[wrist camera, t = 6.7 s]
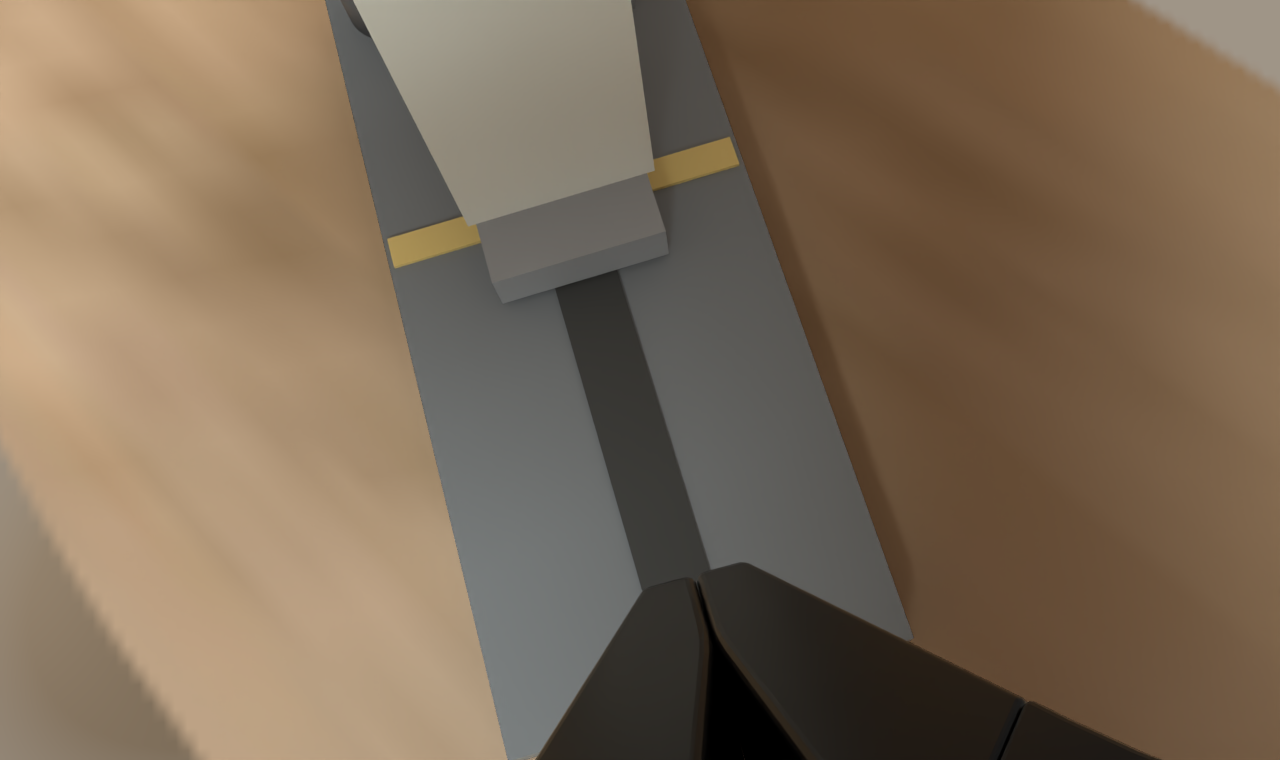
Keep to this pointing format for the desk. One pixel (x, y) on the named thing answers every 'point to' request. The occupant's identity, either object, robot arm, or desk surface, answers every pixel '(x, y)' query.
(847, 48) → the desk surface
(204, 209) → the desk surface
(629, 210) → the fader tab
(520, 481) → the console
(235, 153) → the desk surface
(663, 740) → the robot arm
